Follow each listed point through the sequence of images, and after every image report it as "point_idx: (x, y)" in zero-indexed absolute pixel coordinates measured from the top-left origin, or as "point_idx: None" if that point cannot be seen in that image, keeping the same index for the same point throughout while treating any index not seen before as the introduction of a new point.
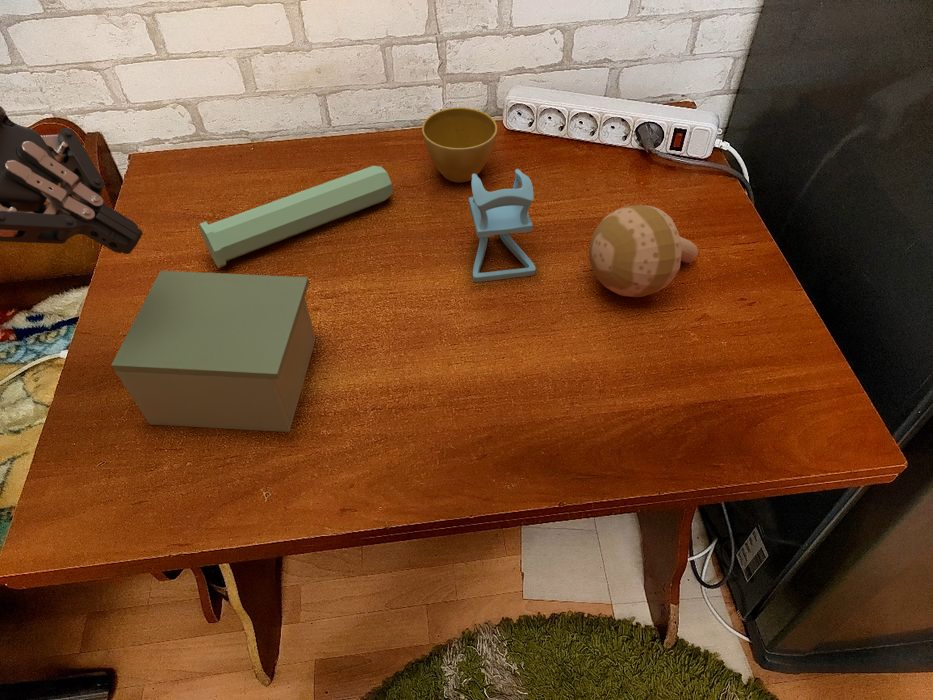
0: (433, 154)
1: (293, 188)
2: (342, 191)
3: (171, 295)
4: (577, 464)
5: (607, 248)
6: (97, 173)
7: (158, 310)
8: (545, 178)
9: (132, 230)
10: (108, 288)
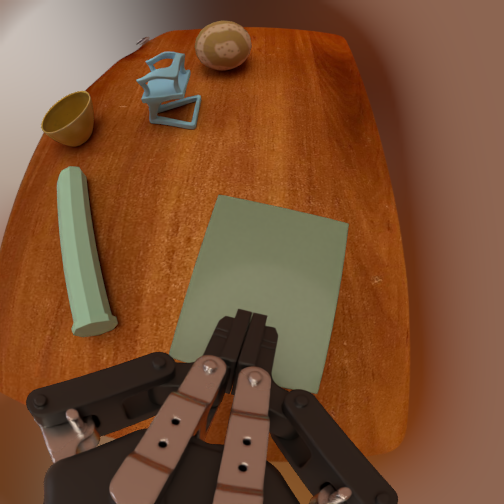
0: (72, 132)
1: (41, 257)
2: (74, 198)
3: None
4: (354, 110)
5: (230, 44)
6: (135, 361)
7: None
8: (114, 92)
9: (247, 318)
10: (120, 430)
